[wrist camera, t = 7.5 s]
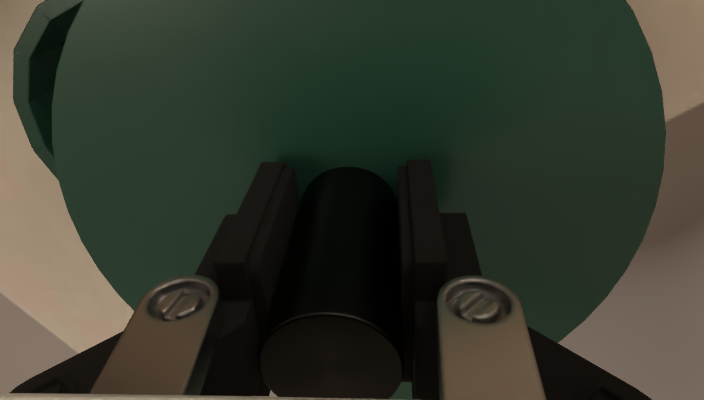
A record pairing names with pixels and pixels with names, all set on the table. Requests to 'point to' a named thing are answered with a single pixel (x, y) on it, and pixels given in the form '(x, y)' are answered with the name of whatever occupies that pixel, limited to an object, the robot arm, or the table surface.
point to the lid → (362, 154)
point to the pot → (41, 72)
